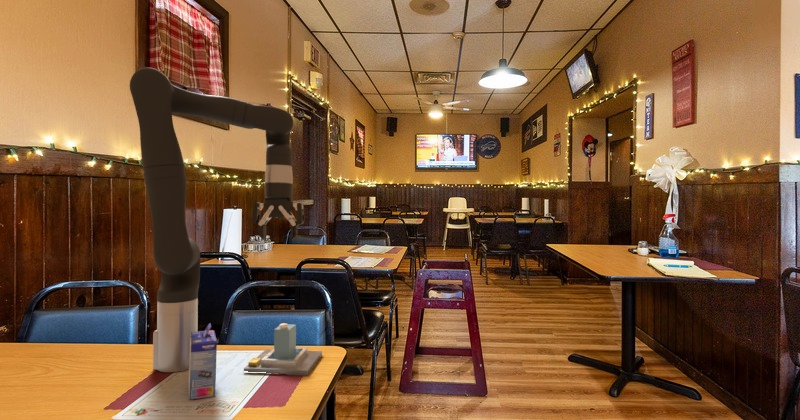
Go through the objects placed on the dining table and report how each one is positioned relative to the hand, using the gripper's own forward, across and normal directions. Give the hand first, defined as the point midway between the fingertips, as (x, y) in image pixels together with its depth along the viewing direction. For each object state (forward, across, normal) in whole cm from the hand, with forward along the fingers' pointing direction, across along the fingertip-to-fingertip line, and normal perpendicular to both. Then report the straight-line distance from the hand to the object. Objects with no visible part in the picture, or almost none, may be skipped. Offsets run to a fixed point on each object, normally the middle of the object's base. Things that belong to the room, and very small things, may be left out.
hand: (278, 239), depth 118 cm
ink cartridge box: (+32, -8, -25) cm, 42 cm away
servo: (+31, +5, -8) cm, 32 cm away
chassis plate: (+32, +5, -8) cm, 33 cm away
